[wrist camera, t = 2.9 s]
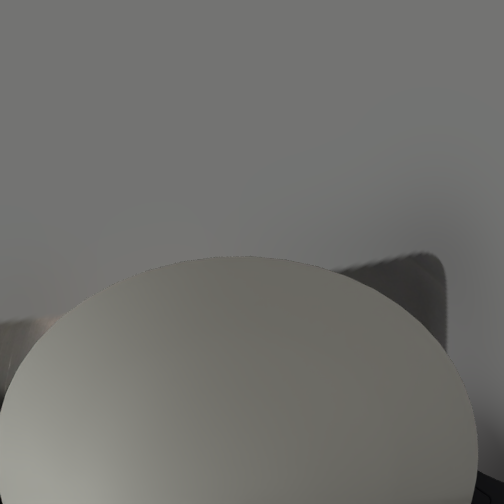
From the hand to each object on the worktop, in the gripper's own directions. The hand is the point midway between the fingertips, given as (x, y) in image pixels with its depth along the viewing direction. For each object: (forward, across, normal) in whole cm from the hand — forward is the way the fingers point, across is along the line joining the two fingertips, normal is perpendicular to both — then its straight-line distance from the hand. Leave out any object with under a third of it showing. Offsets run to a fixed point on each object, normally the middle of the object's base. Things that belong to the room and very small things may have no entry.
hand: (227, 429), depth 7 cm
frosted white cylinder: (+5, 0, +6) cm, 7 cm away
